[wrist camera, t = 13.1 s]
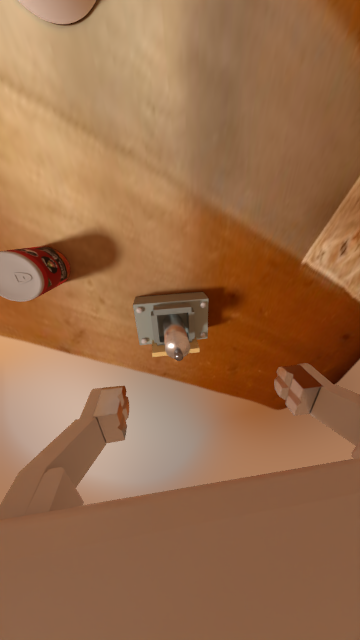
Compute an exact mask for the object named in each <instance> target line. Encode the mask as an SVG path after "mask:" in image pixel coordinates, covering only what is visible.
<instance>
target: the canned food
mask: <svg viewBox="0 0 360 640" xmlns="http://www.w3.org/2000/svg"><path fill="white" fill-rule="evenodd" d="M69 274H70V265H69V263H68V261H67V259H66V258H65V257H64V256H63V255H62V254H61V253H60V252H58V251H57V250H55V249H52V248H49V247H32V248H24V249H15V250H7V251H1V252H0V296H2V297H4V298H6V299H9V300H13V301H29V300H32V299H34V298H36V297H38V296H40V295H42V294H44V293H46V292H48V291H49V290H51V289H53V288H55V287H57V286H58V285H60V284H62V283H63V282H65V281H66V280H67V279H68V277H69Z"/></svg>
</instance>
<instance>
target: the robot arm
mask: <svg viewBox="0 0 360 640" xmlns="http://www.w3.org/2000/svg"><path fill="white" fill-rule="evenodd" d="M18 1H19V2H20V3H21V4H22V5H23V6H24V7H25V8H26V9H28V10H29V11H30V12H32V13H33V14H34V15H36V16H38V17H39V18H41V19H43V20H46V21H48V22H51V23H56V24H69V23H73V22H76V21H78V20H80V19H81V18H83V17H84V16H85V15H86V14H87V13H88V12H89V11H90V10H91V8H92V7H93V5H94V4H95V2H96V0H18ZM277 374H278V375H279V376H278V377H277V378H276V379H275V382H274V385H275V390H276V392H277V393H278V395H279V396H280V397H281V398H283V399H285V404H286V406H287V407H288V408H289V409H290V411H291V412H292V413H293V415H302V414H310V415H312V416H313V417H315V418H316V419H318V420H319V421H321V422H322V423H323V424H325V425H326V426H328V427H329V428H331V429H332V430H334V431H335V432H337V433H338V434H339V435H341V436H342V437H344V438H345V439H347V440H348V441H350V442H351V443H353V444H354V445H355V446H356V447H355V449H354V450H353V452H352V457H353V458H354V459H350V460H344V461H339V462H333V463H327V464H322V465H315V466H309V467H303V468H298V469H292V470H286V471H280V472H274V473H269V474H262V475H257V476H251V477H245V478H239V479H234V480H228V481H222V482H216V483H210V484H204V485H199V486H193V487H187V488H181V489H176V490H169V491H164V492H158V493H152V494H146V495H141V496H135V497H129V498H123V499H117V500H112V501H106V502H100V503H94V504H88V505H83V500H82V498H81V496H80V495H79V493H78V492H77V490H76V487H77V485H78V484H79V483H80V481H81V480H82V478H83V477H84V475H85V474H86V472H87V471H88V470H89V468H90V467H91V465H92V464H93V462H94V461H95V460H96V458H97V457H98V455H99V454H100V452H101V451H102V450H103V448H104V446H105V445H106V443H110V442H116V441H122V440H125V435H126V429H127V425H126V420H127V418H128V415H129V400H128V397H126V388H125V386H116V387H106V388H97V389H93V390H92V391H91V392H90V395H89V398H88V400H87V402H86V405H85V407H84V409H83V412H82V414H81V417H80V419H78V420H75V421H74V422H73V423H72V424H71V425H70V426H69V427H68V428H67V429H65V430H64V431H63V432H62V433H61V434H60V435H59V436H58V437H57V438H56V439H54V440H53V441H52V442H51V443H50V444H49V445H48V446H47V447H46V448H45V449H44V450H43V451H41V452H40V453H39V455H37V456H36V457H35V458H34V459H33V460H32V461H31V462H30V463H29V464H27V465H26V466H25V467H24V468H23V469H22V470H21V471H20V472H19V473H18V475H17V477H16V478H15V480H14V482H13V484H12V485H11V487H10V489H9V491H8V492H7V494H6V496H5V497H4V499H3V501H2V503H1V504H0V640H360V395H359V394H357V393H354V392H352V391H350V390H347V389H345V388H343V387H340V386H338V385H333V384H332V383H331V382H330V381H328V380H327V379H326V378H325V377H324V376H323V375H321V374H320V373H319V372H318V371H317V370H316V369H314V368H313V367H312V366H311V365H309V364H307V363H305V364H298V365H290V366H283V367H279V368H278V370H277Z"/></svg>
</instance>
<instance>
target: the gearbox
mask: <svg viewBox="0 0 360 640" xmlns="http://www.w3.org/2000/svg"><path fill="white" fill-rule="evenodd" d="M133 308H134V314H135V320H136V326H137V331H138V337H139V343H140V345H145V344H152V357H156V356H166V355H167V353H166V351H165V341H164V330H163V320H164V318H165V317H166V316H167V315H169V314H177V315H179V316H180V317H181V318H182V321H183V324H184V327H185V330H186V333H187V337H188V340H189V343H190V351H189V353H194V352H199V349H200V348H199V345H198V343H197V340H196V339H205V338H207V334H208V297H207V296H206V295H205V294H204V292H194V293H181V294H168V295H155V296H143V297H135V300H134V303H133Z"/></svg>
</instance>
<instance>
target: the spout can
mask: <svg viewBox="0 0 360 640" xmlns="http://www.w3.org/2000/svg"><path fill="white" fill-rule="evenodd" d="M163 330H164V341H165V351H166V353H167V355H168V356H170V357H172V358H175V359H176V360H177V361H180V360H182V359H183V357H184V356H186V355H187V354H188V353H189V351H190V343H189V340H188V337H187V333H186V330H185V327H184V324H183V321H182V318H181V317H180V316H179V315H177V314H169V315H167V316H166V317H165V318H164V320H163Z"/></svg>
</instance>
